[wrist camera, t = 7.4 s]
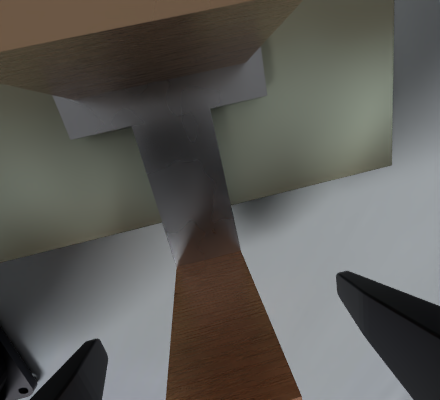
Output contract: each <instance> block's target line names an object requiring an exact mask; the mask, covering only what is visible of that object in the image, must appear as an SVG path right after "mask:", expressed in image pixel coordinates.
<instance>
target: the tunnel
mask: <svg viewBox="0 0 440 400" xmlns="http://www.w3.org/2000/svg"><path fill="white" fill-rule="evenodd" d="M393 50H394V0H303V1H302V2H301V3H300V4H299V5H298V6H297V7H296V9H295V10H294V11H293V12H292V13H291V14H290V15H289V16H288V17H287V18H286V19H285V21H284V22H283V23H282V24H281V25H280V26H279V27H278V28H277V29H276V30H275V31H274V33H273V34H272V35H271V36H270V37H269V38H268V39H267V40H266V41H265V42H264V43H263V44H262V46H261V53H262V60H263V68H264V75H265V82H266V89H267V96H265V97H262V98H259V99H254V100H250V101H246V102H241V103H237V104H232V105H228V106H223V107H219V108H215V109H210V110H211V115H212V119H213V124H214V129H215V133H216V138H217V143H218V147H219V152H220V157H221V161H222V166H223V171H224V175H225V180H226V185H227V189H228V194H229V199H230V203H231V205H234V204H238V203H242V202H246V201H250V200H254V199H258V198H262V197H266V196H270V195H274V194H278V193H282V192H286V191H290V190H294V189H298V188H302V187H306V186H310V185H314V184H318V183H322V182H327V181H331V180H335V179H339V178H343V177H347V176H351V175H355V174H359V173H363V172H367V171H371V170H375V169H379V168H383V167H387V166H391V165H392V114H393ZM158 223H162V220H161V217H160V214H159V211H158V208H157V204H156V201H155V198H154V195H153V192H152V189H151V186H150V183H149V179H148V176H147V173H146V170H145V167H144V164H143V161H142V158H141V155H140V151H139V148H138V145H137V142H136V139H135V136H134V133H133V130H132V127H130V128H126V129H122V130H117V131H113V132H108V133H104V134H99V135H95V136H91V137H86V138H81V139H73V140H70V138H69V135H68V133H67V130H66V128H65V125H64V123H63V120H62V118H61V115H60V113H59V111H58V108H57V106H56V103H55V101H54V98H53V96H52V95H49V94H45V93H40V92H36V91H31V90H27V89H22V88H18V87H13V86H9V85H4V84H0V263H1V262H5V261H9V260H13V259H17V258H21V257H25V256H29V255H33V254H37V253H41V252H45V251H49V250H53V249H57V248H61V247H65V246H70V245H74V244H78V243H82V242H86V241H90V240H94V239H98V238H102V237H106V236H110V235H114V234H118V233H122V232H126V231H130V230H134V229H138V228H142V227H146V226H150V225H154V224H158Z"/></svg>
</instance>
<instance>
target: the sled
mask: <svg viewBox="0 0 440 400" xmlns="http://www.w3.org/2000/svg"><path fill="white" fill-rule="evenodd" d="M302 1H303V0H0V84H4V85H9V86H13V87H18V88H22V89H27V90H31V91H36V92H40V93H45V94H49V95H52V96H53V98H54V101H55V103H56V106H57V108H58V111H59V113H60V115H61V118H62V120H63V123H64V125H65V128H66V130H67V133H68V135H69V138H70V140H73V139H81V138H86V137H91V136H95V135H99V134H104V133H108V132H113V131H117V130H122V129H126V128H130V127H132V130H133V133H134V136H135V139H136V142H137V145H138V148H139V151H140V155H141V158H142V161H143V164H144V167H145V170H146V173H147V176H148V179H149V183H150V186H151V189H152V192H153V195H154V198H155V201H156V204H157V208H158V211H159V214H160V217H161V220H162V223H163V226H164V229H165V232H166V236H167V239H168V242H169V245H170V248H171V251H172V254H173V257H174V261H175V264H176V267H177V270H176V282H175V294H174V306H173V319H172V331H171V343H170V355H169V368H168V380H167V392H166V400H302V396H301V394H300V391H299V389H298V387H297V384H296V382H295V380H294V377H293V375H292V372H291V370H290V368H289V365H288V363H287V360H286V358H285V356H284V353H283V351H282V348H281V346H280V344H279V341H278V339H277V336H276V334H275V332H274V329H273V327H272V324H271V322H270V320H269V317H268V315H267V313H266V310H265V308H264V305H263V303H262V301H261V298H260V296H259V293H258V291H257V289H256V286H255V284H254V281H253V279H252V277H251V274H250V272H249V269H248V267H247V265H246V262H245V260H244V257H243V255H242V253H241V250H240V245H239V241H238V236H237V231H236V227H235V222H234V217H233V213H232V208H231V203H230V199H229V194H228V189H227V185H226V180H225V175H224V171H223V166H222V161H221V157H220V152H219V147H218V143H217V138H216V133H215V129H214V124H213V119H212V115H211V110H210V109H215V108H219V107H223V106H228V105H232V104H237V103H241V102H246V101H250V100H254V99H259V98H262V97H265V96H267V89H266V82H265V75H264V68H263V60H262V53H261V46H262V44H263V43H264V42H265V41H266V40H267V39H268V38H269V37H270V36H271V35H272V34H273V33H274V31H275V30H276V29H277V28H278V27H279V26H280V25H281V24H282V23H283V22H284V21H285V19H286V18H287V17H288V16H289V15H290V14H291V13H292V12H293V11H294V10H295V9H296V7H297V6H298V5H299V4H300V3H301V2H302Z"/></svg>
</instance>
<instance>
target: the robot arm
mask: <svg viewBox="0 0 440 400" xmlns="http://www.w3.org/2000/svg"><path fill="white" fill-rule="evenodd" d="M336 282H337V292H338V295H339V297H340V299H341V301H342V302H343V304H344V305H345V307H346V308H347V310H348V312H349V313H350V315H351V316H352V318H353V319H354V321H355V323H356V324H357V326H358V327H359V329H360V330H361V332H362V333H363V335H364V336H365V338H366V339H367V340H368V342H369V343H370V344H371V345H372V347H373V348H374V349H375V351H376V352H377V353H378V354H379V356H380V357H381V358H382V360H383V361H384V362H385V363H386V365H387V366H388V367H389V369H390V370H391V371H392V372H393V374H394V375H395V376H396V378H397V379H398V380H399V381H400V383H401V384H402V385H403V387H404V388H405V389H406V390H407V392H408V393H409V394H410V396H411V397H412V398H413V399H414V400H440V306H438V305H436V304H433V303H430V302H428V301H425V300H423V299H420V298H417V297H415V296H412V295H410V294H407V293H404V292H402V291H399V290H396V289H394V288H391V287H389V286H386V285H383V284H381V283H378V282H376V281H373V280H370V279H368V278H365V277H363V276H360V275H357V274H355V273H352V272H350V271H344V272H340V273H337V275H336ZM107 364H108V356H107V353H106V351H105V349H104V347H103V345H102V343H101V341H100V340H99V339H93V340H89V341H86V342H85V343H84V344H83V345H82V346H81V347H80V348H79V349H78V350H77V351H76V352H75V353H74V354H73V355H72V356H71V357H70V358H69V359H68V360H67V361H66V363H65V364H64V365H63V366H62V367H61V368H60V369H59V370H58V371H57V372H56V373H55V374H54V375H53V376H52V377H51V378H50V379H49V380H48V381H47V382H46V383H45V384H44V385H43V386H42V387H41V388H40V389H39V390H38V391H37V392H36V394H35V395H34V396H33V397H32V398H31V399H30V400H102V396H103V389H104V383H105V377H106V370H107ZM36 386H37V381H36V380H35V378H34V377H33V375H32V374H31V372H30V371H29V369H28V368H27V366H26V365H25V363H24V362H23V360H22V359H21V357H20V355H19V354H18V352H17V351H16V349H15V348H14V346H13V345H12V343H11V342H10V340H9V339H8V337H7V336H6V334H5V333H4V331H3V330H2V328H1V327H0V400H18V399H21V398H25V397H28V396H30V395H31V394H32V393H33V392H34V390H35V388H36Z"/></svg>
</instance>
